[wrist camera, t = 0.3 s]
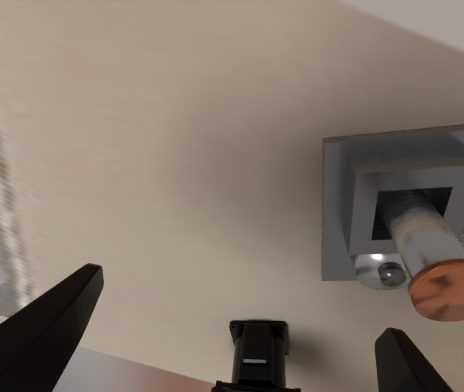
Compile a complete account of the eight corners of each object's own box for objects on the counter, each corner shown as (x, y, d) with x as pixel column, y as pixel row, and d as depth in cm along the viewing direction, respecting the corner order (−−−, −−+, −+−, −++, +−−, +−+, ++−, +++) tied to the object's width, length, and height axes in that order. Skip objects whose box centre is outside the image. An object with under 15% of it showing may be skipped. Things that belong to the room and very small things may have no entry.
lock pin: (419, 212, 22) (489, 321, 15) (365, 215, 23) (407, 321, 16) (430, 168, 20) (518, 271, 13) (370, 173, 21) (421, 273, 14)
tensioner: (437, 271, 26) (456, 304, 24) (321, 273, 28) (326, 304, 26) (489, 122, 19) (525, 145, 16) (323, 138, 20) (330, 161, 18)
